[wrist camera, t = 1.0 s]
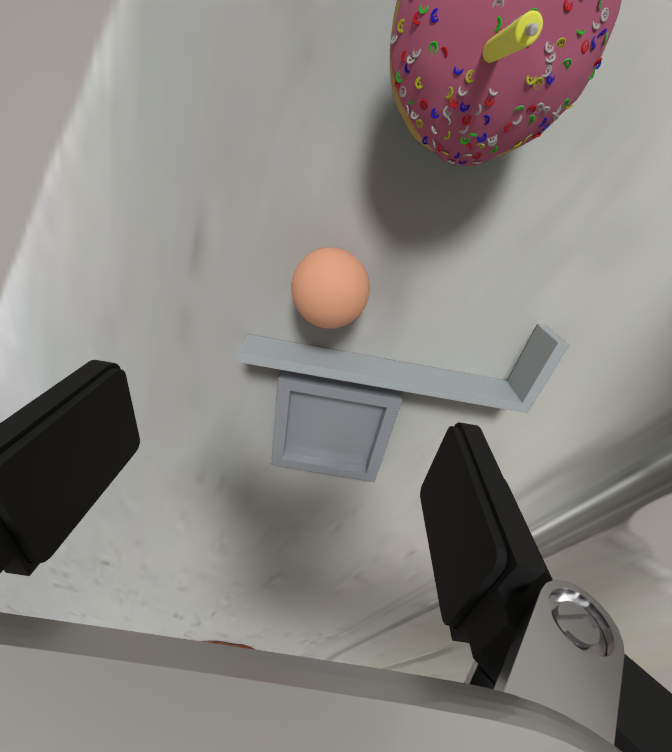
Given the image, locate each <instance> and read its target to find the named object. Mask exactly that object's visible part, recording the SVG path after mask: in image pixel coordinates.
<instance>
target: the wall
mask: <svg viewBox="0 0 672 752" xmlns="http://www.w3.org/2000/svg"><path fill="white" fill-rule="evenodd" d="M569 346H570V344H568V343H567V342H566V341H565V340H564V339H562V338H561V337H560V336H559V335H558V334H557V333H555V332H554V331H553V330H552V329H551V328H549V327H548V326H543V325H538V324H537V326H536V328H535V330H534V332H533V334H532V336H531V337H530V339H529V341H528V343H527V345H526V347H525V349H524V351H523V352H522V354H521V356H520V358H519V360H518V362H517V364H516V365H515V367H514V369H513V371H512V373H511V375H510V377H509V379H508V380H507V381H506V380H500V379H494V378H489V377H483V376H478V375H472V374H466V373H461V372H455V371H450V370H444V369H438V368H433V367H427V366H422V365H416V364H410V363H405V362H399V361H394V360H388V359H383V358H377V357H371V356H366V355H360V354H355V353H349V352H343V351H338V350H332V349H327V348H321V347H315V346H310V345H304V344H299V343H293V342H288V341H282V340H276V339H271V338H265V337H260V336H254V335H247V337H246V338H245V340H244V341H243V342H242V344H241V345H240V347H239V348H238V349H237V351H236V362H240V363H246V364H252V365H257V366H263V367H269V368H274V369H280V370H286V371H291V372H297V373H303V374H308V375H314V376H320V377H325V378H331V379H337V380H342V381H348V382H354V383H359V384H365V385H371V386H376V387H382V388H388V389H393V390H399V391H405V392H410V393H416V394H422V395H427V396H433V397H439V398H444V399H450V400H456V401H461V402H467V403H473V404H478V405H484V406H490V407H495V408H501V409H506V410H512V411H518V412H523V413H528V412H529V411H530V409H531V407H532V406H533V404H534V402H535V401H536V399H537V398H538V396H539V394H540V393H541V391H542V389H543V388H544V386H545V385H546V383H547V381H548V380H549V378H550V377H551V375H552V373H553V372H554V370H555V368H556V367H557V365H558V364H559V362H560V360H561V359H562V357H563V355H564V354H565V352H566V351H567V349H568V347H569Z"/></svg>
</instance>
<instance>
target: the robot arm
mask: <svg viewBox="0 0 672 752" xmlns="http://www.w3.org/2000/svg"><path fill="white" fill-rule="evenodd" d="M139 444H140V437H139V433H138V428H137V424H136V419H135V414H134V410H133V405H132V401H131V396H130V391H129V387H128V382H127V378H126V374H125V372H124V370H121V369H120V366H119V365H118V364H116V363H111V362H105V361H99V360H91V361H89V362H88V363H86V364H85V365H83V366H82V367H81V368H79V369H78V370H76V371H75V372H73V373H72V374H70V375H69V376H68V377H66V378H65V379H63V380H62V381H60V382H59V383H57V384H56V385H55V386H53V387H52V388H50V389H49V390H47V391H46V392H45V393H43V394H42V395H40V396H39V397H37V398H36V399H34V400H33V401H32V402H30V403H29V404H27V405H26V406H24V407H23V408H21V409H20V410H19V411H17V412H16V413H14V414H13V415H11V416H10V417H9V418H7V419H6V420H4V421H3V422H1V423H0V573H1V572H2V571H3V570H4V571H5V572H6V573H12V574H19V575H25V576H30V575H31V574H32V572H33V571H34V570H35V569H36V567H37V566H38V565H39V564H40V563H43V562H45V561H47V560H48V559H49V558H50V557H51V556H52V555H53V554H54V553H55V552H56V550H57V549H58V548H59V547H60V545H61V544H62V543H63V542H64V540H65V539H66V538H67V537H68V535H69V534H70V533H71V532H72V531H73V529H74V528H75V527H76V526H77V524H78V523H79V522H80V521H81V519H82V518H83V517H84V516H85V514H86V513H87V512H88V511H89V509H90V508H91V507H92V506H93V505H94V503H95V502H96V501H97V500H98V498H99V497H100V496H101V495H102V493H103V492H104V491H105V490H106V488H107V487H108V486H109V485H110V483H111V482H112V481H113V480H114V479H115V477H116V476H117V475H118V474H119V472H120V471H121V470H122V469H123V467H124V466H125V465H126V464H127V462H128V461H129V460H130V459H131V457H132V456H133V455H134V454H135V453H136V451H137V449H138V447H139ZM420 498H421V504H422V510H423V515H424V521H425V527H426V532H427V538H428V543H429V549H430V554H431V560H432V566H433V571H434V577H435V582H436V588H437V593H438V599H439V605H440V610H441V615H442V619H443V622H444V623H445V625H448V626H449V627H450V632H451V637H452V640H453V641H459V642H466V643H470V647H471V651H472V656H473V659H474V662H473V664H472V667H471V669H470V671H469V673H468V675H467V677H466V680H465V682H464V683H460V682H454V681H449V680H443V679H437V678H431V677H426V676H420V675H414V674H409V673H403V672H397V671H391V670H385V669H378V668H372V667H365V666H359V665H352V664H346V663H339V662H333V661H326V660H320V659H313V658H307V657H300V656H294V655H287V654H281V653H274V652H268V651H261V650H254V649H247V648H241V647H234V646H227V645H221V644H214V643H207V642H201V641H194V640H187V639H180V638H174V637H167V636H160V635H153V634H146V633H140V632H133V631H126V630H119V629H113V628H106V627H99V626H92V625H85V624H78V623H71V622H64V621H57V620H50V619H43V618H36V617H29V616H22V615H15V614H8V613H1V612H0V752H672V694H671V693H670V692H669V691H668V690H667V689H666V688H664V687H663V686H662V685H661V684H660V683H658V682H657V681H656V680H655V679H654V678H653V677H651V676H650V675H649V674H648V673H647V672H646V671H644V670H643V669H642V668H641V667H640V666H638V665H637V664H636V663H635V662H634V661H633V660H631V659H630V658H629V657H628V656H627V655H626V654H624V644H623V640H622V638H621V635H620V632H619V630H618V628H617V626H616V625H615V623H614V621H613V620H612V618H611V617H610V615H609V614H608V613H607V612H606V610H605V609H604V608H603V607H602V606H601V605H600V604H599V602H597V601H596V600H595V599H594V598H593V597H592V596H590V595H589V594H588V593H587V592H585V591H584V590H582V589H580V588H579V587H577V586H576V585H573V584H571V583H568V582H565V581H558V580H552V577H551V575H550V573H549V571H548V569H547V567H546V565H545V563H544V560H543V558H542V556H541V554H540V552H539V550H538V548H537V545H536V543H535V541H534V539H533V537H532V535H531V533H530V530H529V528H528V526H527V524H526V522H525V520H524V518H523V515H522V513H521V511H520V509H519V507H518V505H517V503H516V501H515V498H514V496H513V494H512V492H511V490H510V488H509V486H508V484H507V482H506V480H505V479H504V478H503V475H502V473H501V471H500V469H499V467H498V465H497V462H496V460H495V458H494V456H493V454H492V452H491V450H490V447H489V445H488V443H487V441H486V439H485V437H484V434H483V432H482V430H481V428H480V427H479V426H477V425H471V424H465V423H460V422H459V423H457V424H455V426H454V427H453V426H450V427H449V428H448V430H447V432H446V434H445V436H444V438H443V441H442V443H441V445H440V447H439V449H438V451H437V454H436V456H435V458H434V460H433V462H432V464H431V467H430V469H429V471H428V473H427V475H426V478H425V480H424V482H423V484H422V487H421V491H420Z"/></svg>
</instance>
